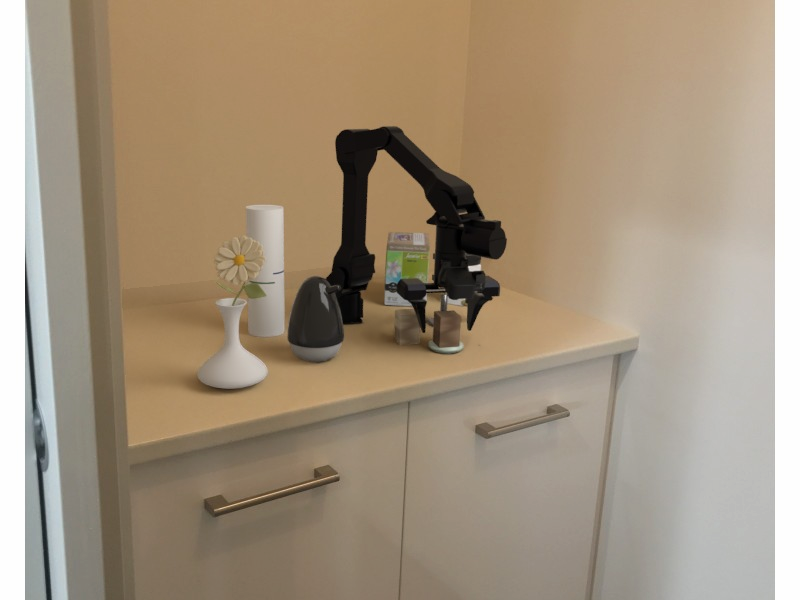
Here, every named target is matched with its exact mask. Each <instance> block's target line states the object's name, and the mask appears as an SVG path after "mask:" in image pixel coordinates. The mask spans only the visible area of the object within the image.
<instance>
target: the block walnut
mask: <svg viewBox="0 0 800 600" xmlns="http://www.w3.org/2000/svg"><path fill="white" fill-rule="evenodd" d="M433 318H434V323H433V327H432V328H433V329H432V340H433V342H434V343H435V344H436V345H437V346H438V347H439V348H446V347H459V346H460V342H461V327H462V325H461V324H462V316H461V315H460V314H459V313H458V312H457V311H455V310H447V311H440V310H438V311H436V310H435V311H434V312H433Z"/></svg>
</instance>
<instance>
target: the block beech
mask: <svg viewBox="0 0 800 600" xmlns="http://www.w3.org/2000/svg"><path fill="white" fill-rule="evenodd" d="M393 332H394V333H393V334H394V335H393V339H394V341H396V343H397V344H398V345H399V346H405V345H420V341H421V340H420V338H421V328H420V325H419V322H418V319H417V316H416V314H415V311H414V308H404V309H403V308H399V309H395V310H394V331H393Z"/></svg>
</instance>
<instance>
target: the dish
mask: <svg viewBox="0 0 800 600" xmlns="http://www.w3.org/2000/svg"><path fill="white" fill-rule="evenodd" d="M428 348H429V349H430V350H431V351H433V352H435V353H438V354H444V355H445V354H447V355H449V354H450V355H451V354H457V353H459V352H461V351H462V350H463V349H464V343H463V342H462V341H460V346H459V347H446V348H439V347H438V346H437V345H436V344H435V343H434V342H433V339H431V340H429V341H428Z"/></svg>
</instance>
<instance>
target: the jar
mask: <svg viewBox="0 0 800 600" xmlns="http://www.w3.org/2000/svg"><path fill="white" fill-rule="evenodd" d="M466 258H467V259H468V268H469V271H482V264H481V262H482V261H481V260H482V257H479V256H474V255H469V254H467V253H466ZM463 300H465V299H458V300H452V299H450V298H449V297H448V299H447V305H453V306H459V307H464V306H463V305H461V301H463Z"/></svg>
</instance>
